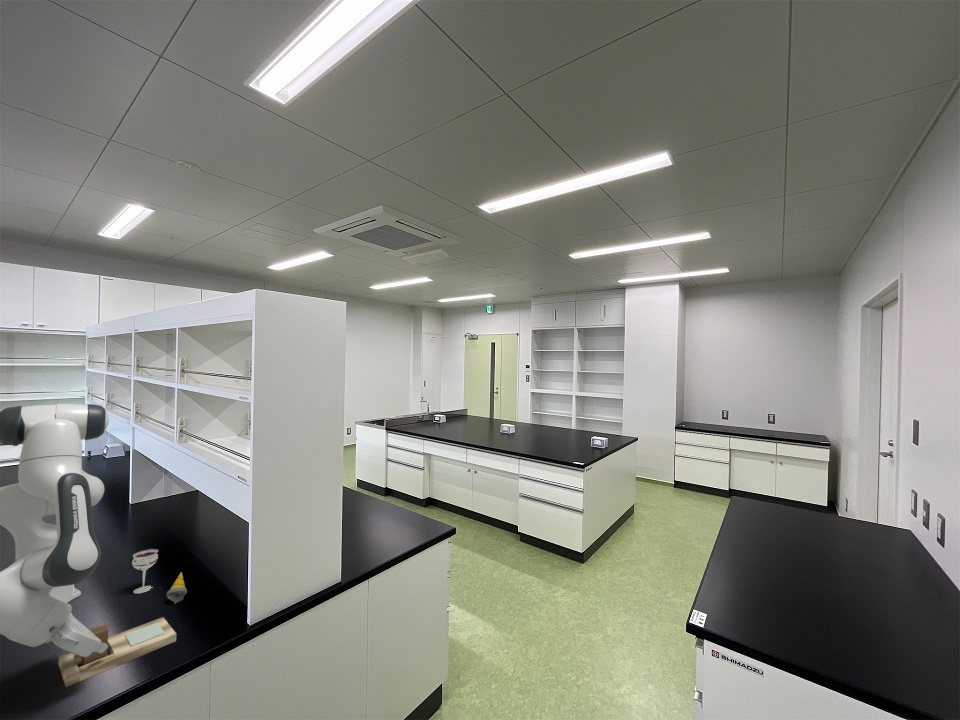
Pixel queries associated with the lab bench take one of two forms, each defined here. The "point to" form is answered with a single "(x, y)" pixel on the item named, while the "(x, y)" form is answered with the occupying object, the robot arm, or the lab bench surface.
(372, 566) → the lab bench surface
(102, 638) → the walnut peg
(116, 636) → the puzzle board
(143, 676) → the lab bench surface
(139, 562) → the wineglass
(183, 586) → the ice cream cone
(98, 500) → the robot arm
